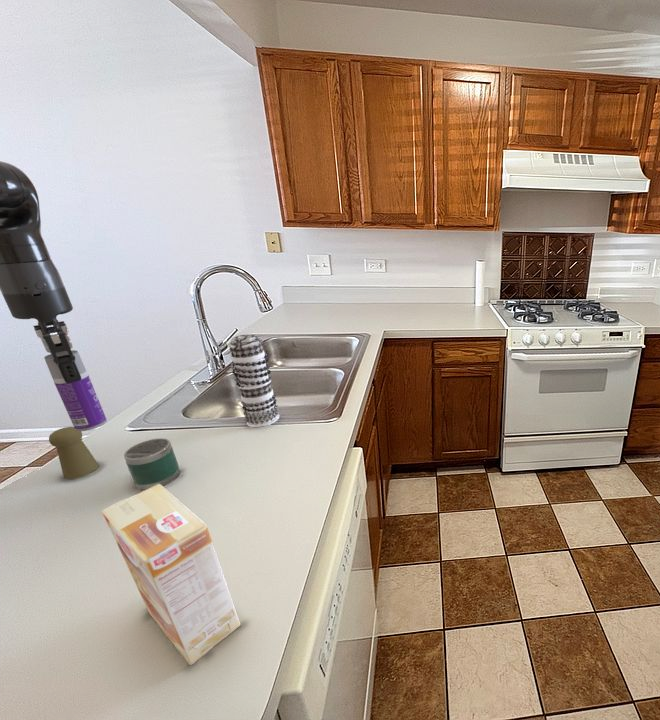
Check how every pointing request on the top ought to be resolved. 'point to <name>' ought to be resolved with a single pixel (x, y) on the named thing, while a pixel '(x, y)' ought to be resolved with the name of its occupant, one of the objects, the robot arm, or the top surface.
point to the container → (78, 395)
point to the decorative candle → (253, 380)
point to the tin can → (152, 463)
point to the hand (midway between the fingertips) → (72, 377)
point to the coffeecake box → (174, 569)
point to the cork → (72, 453)
